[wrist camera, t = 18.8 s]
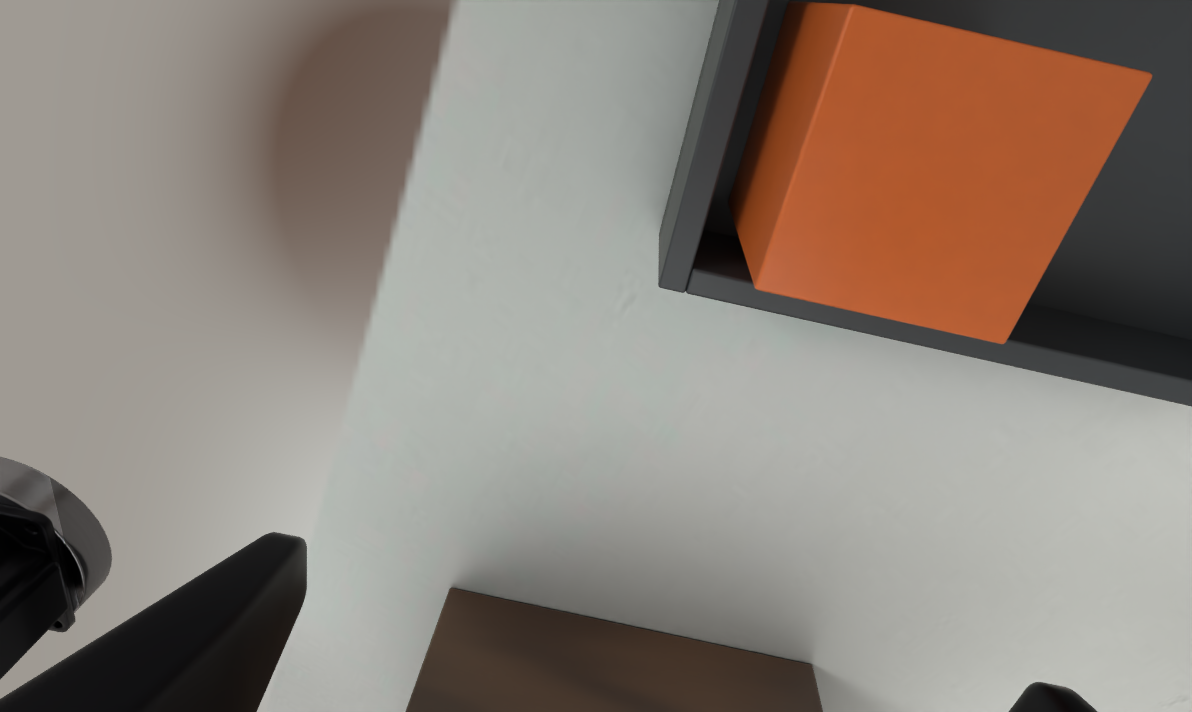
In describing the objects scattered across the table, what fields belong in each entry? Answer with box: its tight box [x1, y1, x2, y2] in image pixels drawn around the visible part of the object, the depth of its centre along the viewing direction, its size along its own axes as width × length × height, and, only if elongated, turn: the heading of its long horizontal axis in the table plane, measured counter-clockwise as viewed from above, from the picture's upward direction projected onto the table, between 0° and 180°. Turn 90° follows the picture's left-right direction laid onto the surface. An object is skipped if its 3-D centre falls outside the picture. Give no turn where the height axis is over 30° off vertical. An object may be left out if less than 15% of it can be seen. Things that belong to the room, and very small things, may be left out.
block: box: [728, 1, 1152, 344], centre depth 13 cm, size 4×4×6 cm
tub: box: [658, 0, 1192, 406], centre depth 13 cm, size 15×13×4 cm
